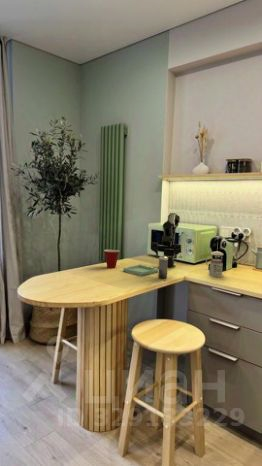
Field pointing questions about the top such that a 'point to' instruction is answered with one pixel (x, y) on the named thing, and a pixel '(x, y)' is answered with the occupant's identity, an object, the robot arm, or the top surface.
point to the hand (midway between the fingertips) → (164, 258)
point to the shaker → (163, 267)
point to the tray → (140, 270)
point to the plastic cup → (111, 258)
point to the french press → (215, 262)
